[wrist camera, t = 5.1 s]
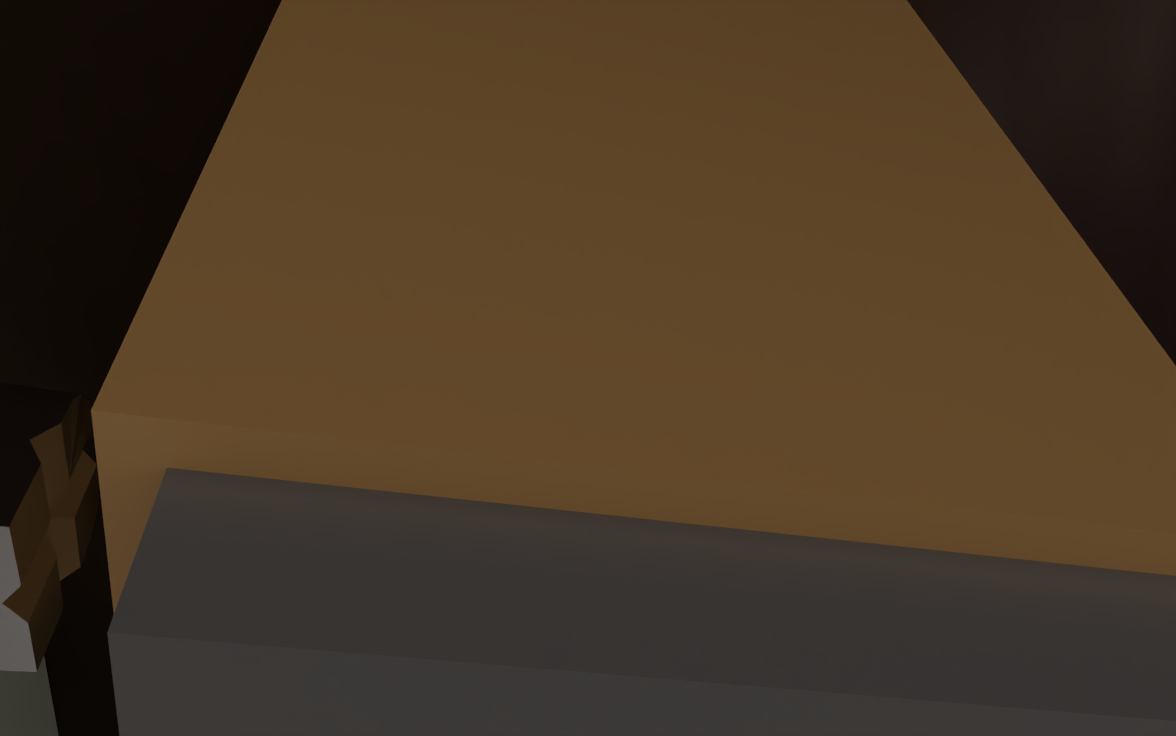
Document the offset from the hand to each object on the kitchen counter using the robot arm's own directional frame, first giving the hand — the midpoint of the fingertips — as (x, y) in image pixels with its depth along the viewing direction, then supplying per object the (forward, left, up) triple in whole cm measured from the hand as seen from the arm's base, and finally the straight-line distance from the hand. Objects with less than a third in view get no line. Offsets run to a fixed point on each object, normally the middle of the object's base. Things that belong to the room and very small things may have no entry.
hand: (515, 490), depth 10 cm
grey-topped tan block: (0, 0, -3) cm, 3 cm away
